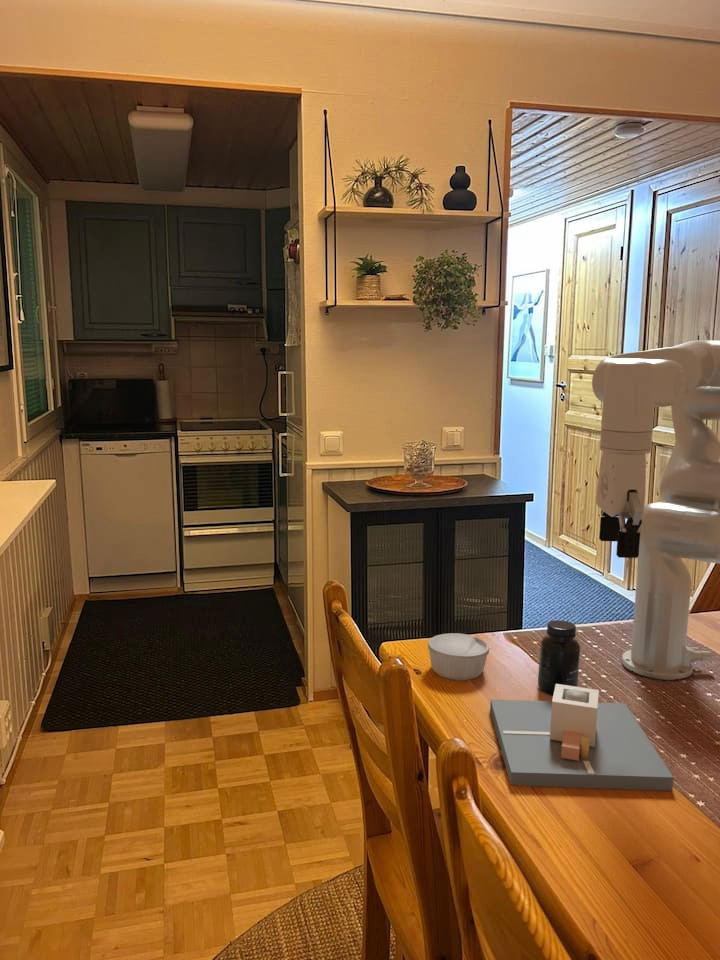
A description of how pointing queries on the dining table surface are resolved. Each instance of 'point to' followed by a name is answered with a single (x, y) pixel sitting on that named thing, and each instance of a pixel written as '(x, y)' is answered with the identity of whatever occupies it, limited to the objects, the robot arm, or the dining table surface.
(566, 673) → the supplement bottle
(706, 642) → the dining table surface
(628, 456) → the robot arm
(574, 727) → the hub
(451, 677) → the ramekin
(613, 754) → the board
